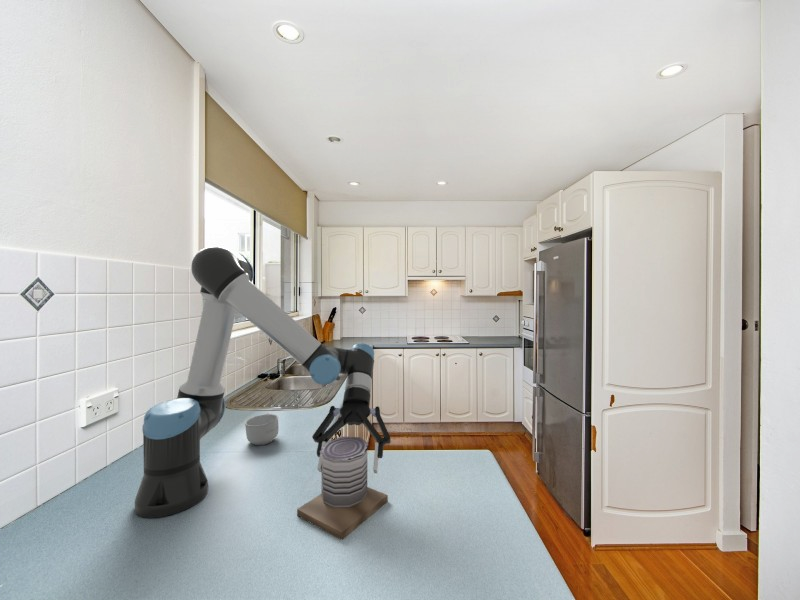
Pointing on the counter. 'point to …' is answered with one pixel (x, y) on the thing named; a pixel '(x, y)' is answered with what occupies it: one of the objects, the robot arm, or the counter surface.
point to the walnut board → (341, 513)
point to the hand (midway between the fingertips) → (347, 471)
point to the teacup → (262, 429)
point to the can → (344, 472)
